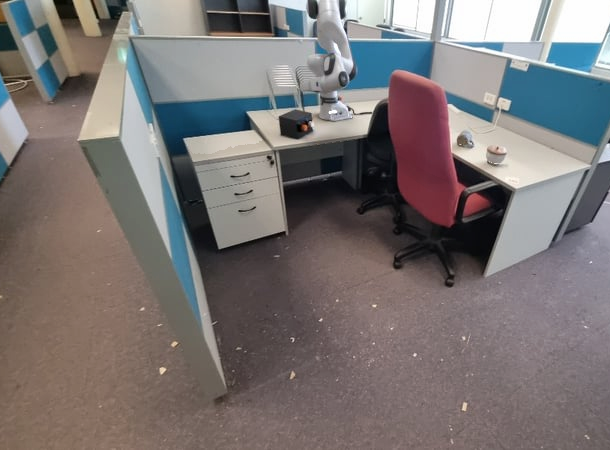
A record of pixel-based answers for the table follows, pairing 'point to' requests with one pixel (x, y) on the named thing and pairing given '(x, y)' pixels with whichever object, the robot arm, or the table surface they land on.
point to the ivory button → (311, 124)
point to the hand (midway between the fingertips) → (309, 91)
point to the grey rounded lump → (465, 139)
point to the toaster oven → (295, 123)
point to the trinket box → (495, 154)
